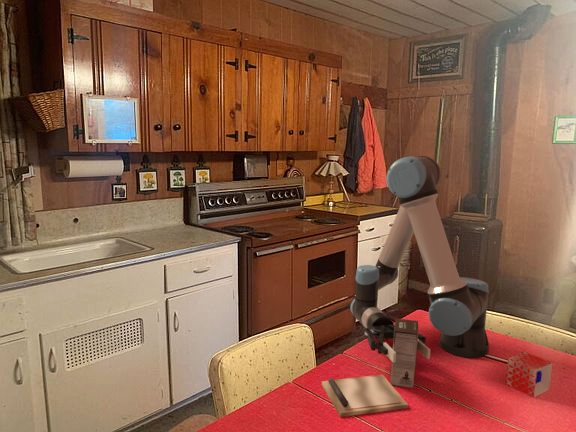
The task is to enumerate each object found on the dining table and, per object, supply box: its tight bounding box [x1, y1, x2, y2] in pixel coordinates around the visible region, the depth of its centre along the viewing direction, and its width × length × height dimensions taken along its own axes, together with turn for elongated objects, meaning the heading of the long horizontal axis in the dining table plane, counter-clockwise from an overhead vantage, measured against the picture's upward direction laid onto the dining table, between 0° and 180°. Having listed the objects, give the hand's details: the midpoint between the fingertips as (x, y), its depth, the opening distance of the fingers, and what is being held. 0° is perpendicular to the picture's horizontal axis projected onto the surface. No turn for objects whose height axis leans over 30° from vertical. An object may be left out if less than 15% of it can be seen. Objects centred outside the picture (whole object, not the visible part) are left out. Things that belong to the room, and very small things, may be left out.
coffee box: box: [390, 318, 419, 389], centre depth 128 cm, size 9×6×16 cm
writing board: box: [321, 374, 409, 418], centre depth 120 cm, size 18×15×3 cm
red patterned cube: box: [505, 351, 553, 398], centre depth 125 cm, size 8×8×8 cm
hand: (411, 355), depth 123 cm, fingers closed on coffee box, 9 cm apart
